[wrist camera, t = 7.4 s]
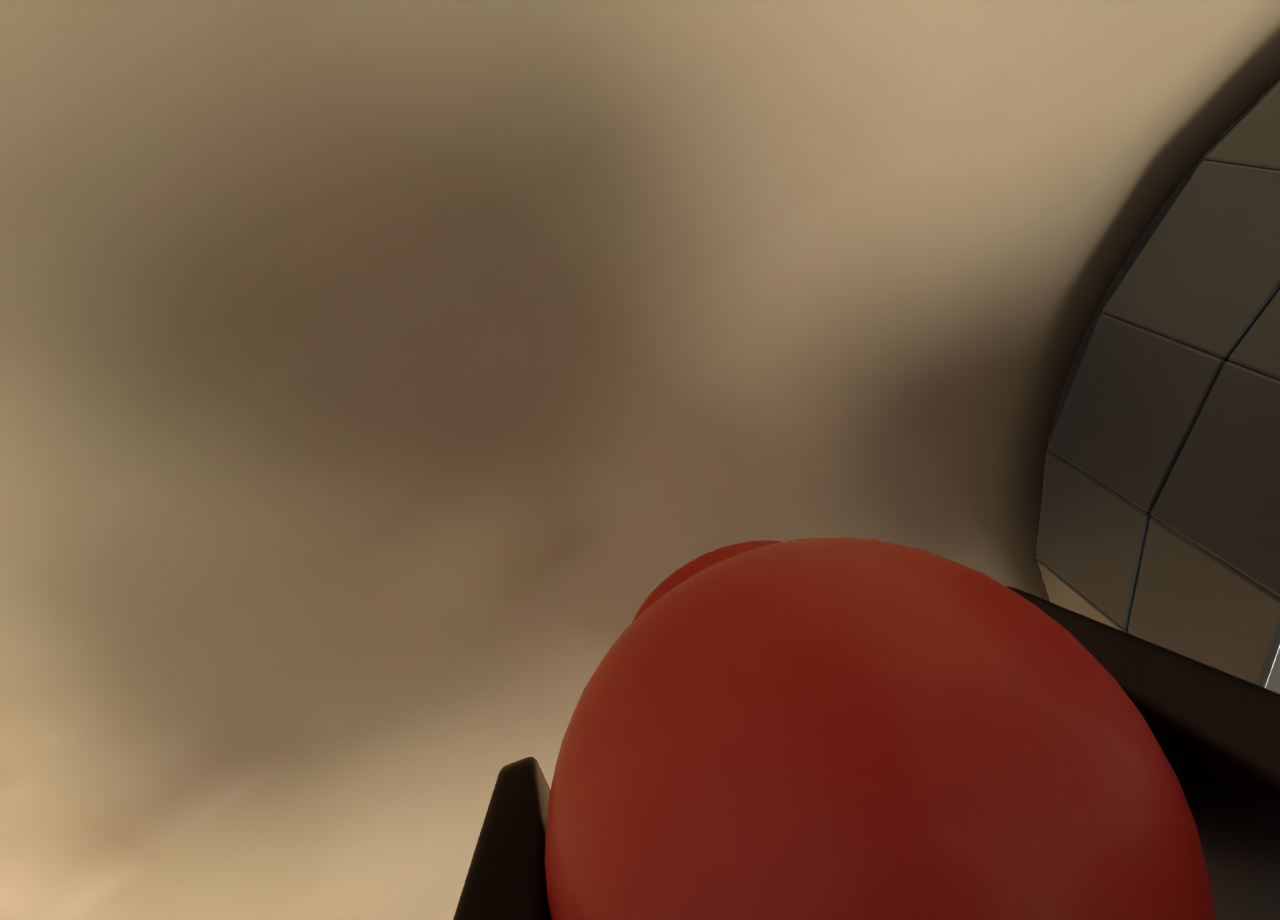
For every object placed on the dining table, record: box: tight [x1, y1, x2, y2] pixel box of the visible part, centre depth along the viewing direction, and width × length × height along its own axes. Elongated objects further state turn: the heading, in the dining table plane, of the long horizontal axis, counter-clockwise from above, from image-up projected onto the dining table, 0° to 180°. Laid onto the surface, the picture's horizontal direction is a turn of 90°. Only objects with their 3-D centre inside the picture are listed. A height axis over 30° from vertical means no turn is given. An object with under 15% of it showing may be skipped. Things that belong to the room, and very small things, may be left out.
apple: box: [545, 538, 1215, 920], centre depth 7 cm, size 6×6×7 cm
